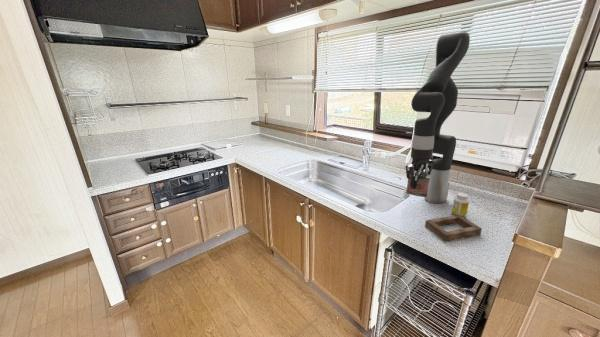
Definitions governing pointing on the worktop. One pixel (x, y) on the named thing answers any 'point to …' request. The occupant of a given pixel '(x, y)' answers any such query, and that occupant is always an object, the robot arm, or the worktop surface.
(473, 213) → the worktop surface
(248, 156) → the worktop surface
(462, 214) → the supplement bottle
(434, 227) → the slot block
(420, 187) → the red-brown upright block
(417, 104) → the robot arm
